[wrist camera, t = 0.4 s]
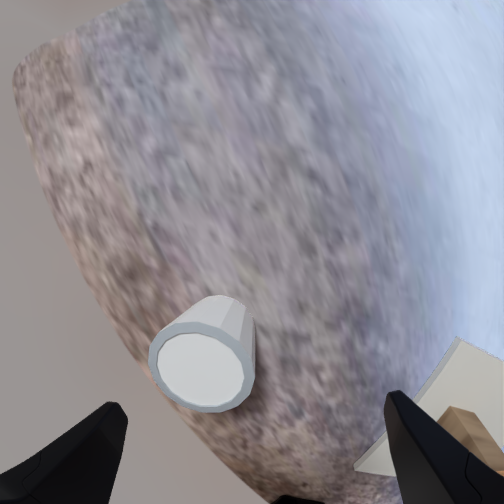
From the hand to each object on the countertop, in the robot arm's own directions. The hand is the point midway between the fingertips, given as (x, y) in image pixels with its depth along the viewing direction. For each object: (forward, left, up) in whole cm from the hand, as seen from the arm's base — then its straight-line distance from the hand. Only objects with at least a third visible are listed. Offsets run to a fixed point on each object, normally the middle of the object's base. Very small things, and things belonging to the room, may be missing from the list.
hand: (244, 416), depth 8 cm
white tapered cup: (-5, +2, -15) cm, 16 cm away
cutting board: (-6, -30, -15) cm, 34 cm away
